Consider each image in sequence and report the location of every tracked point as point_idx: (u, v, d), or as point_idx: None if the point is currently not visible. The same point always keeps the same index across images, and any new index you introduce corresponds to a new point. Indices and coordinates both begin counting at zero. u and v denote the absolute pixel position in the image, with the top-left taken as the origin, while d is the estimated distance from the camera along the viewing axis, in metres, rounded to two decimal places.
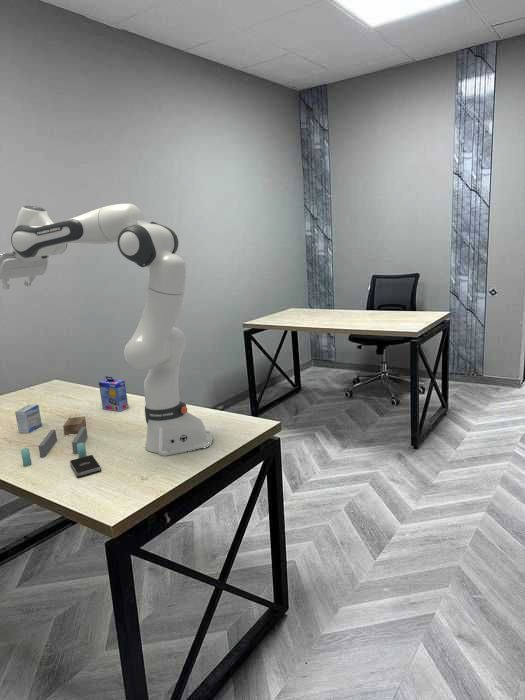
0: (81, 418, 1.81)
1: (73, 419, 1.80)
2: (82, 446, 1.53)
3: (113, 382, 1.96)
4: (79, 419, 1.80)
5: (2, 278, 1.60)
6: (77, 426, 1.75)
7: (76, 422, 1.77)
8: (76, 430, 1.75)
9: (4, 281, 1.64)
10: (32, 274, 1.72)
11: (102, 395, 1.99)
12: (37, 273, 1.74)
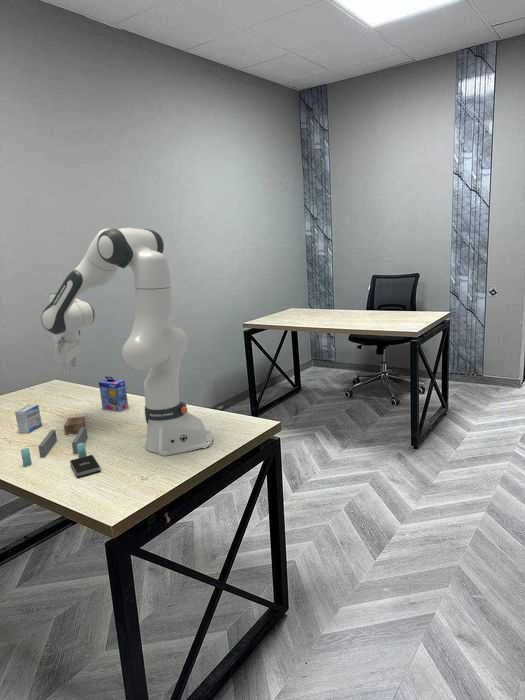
0: (81, 418, 1.81)
1: (73, 419, 1.80)
2: (82, 446, 1.53)
3: (113, 382, 1.96)
4: (79, 419, 1.80)
5: (67, 362, 1.74)
6: (78, 426, 1.75)
7: (76, 422, 1.77)
8: (77, 430, 1.76)
9: (65, 366, 1.77)
10: (76, 353, 1.86)
11: (102, 395, 1.99)
12: (77, 352, 1.88)
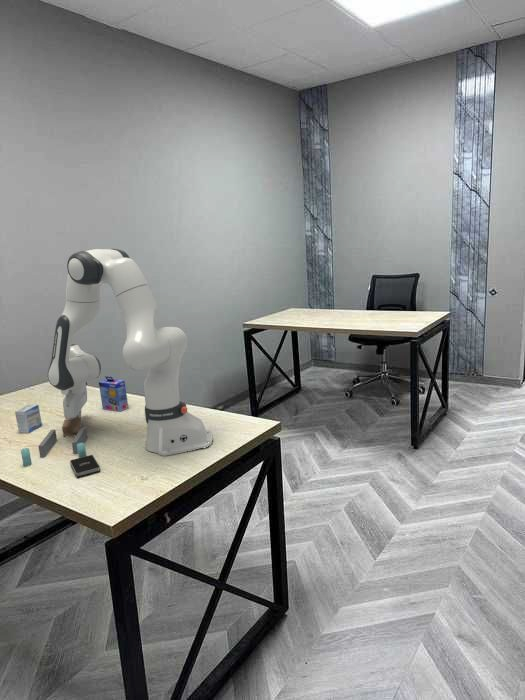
0: (78, 419, 1.79)
1: (71, 421, 1.78)
2: (82, 446, 1.53)
3: (113, 382, 1.96)
4: (76, 420, 1.78)
5: (75, 416, 1.74)
6: (77, 427, 1.74)
7: (75, 423, 1.76)
8: (75, 431, 1.74)
9: (77, 415, 1.81)
10: (83, 404, 1.86)
11: (102, 395, 1.99)
12: (84, 402, 1.88)
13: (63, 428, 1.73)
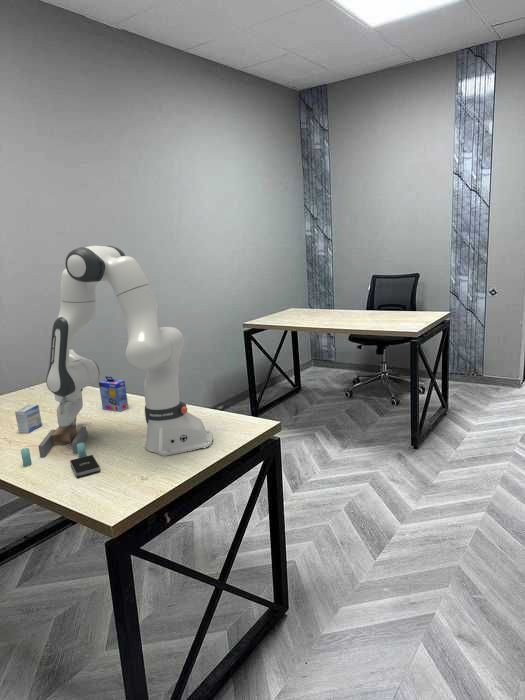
0: (72, 427, 1.72)
1: (64, 428, 1.71)
2: (82, 446, 1.53)
3: (113, 382, 1.96)
4: (69, 428, 1.71)
5: (69, 424, 1.66)
6: (66, 436, 1.66)
7: (65, 431, 1.68)
8: (65, 440, 1.66)
9: (71, 423, 1.73)
10: (78, 411, 1.79)
11: (102, 395, 1.99)
12: (80, 408, 1.80)
13: (52, 436, 1.66)
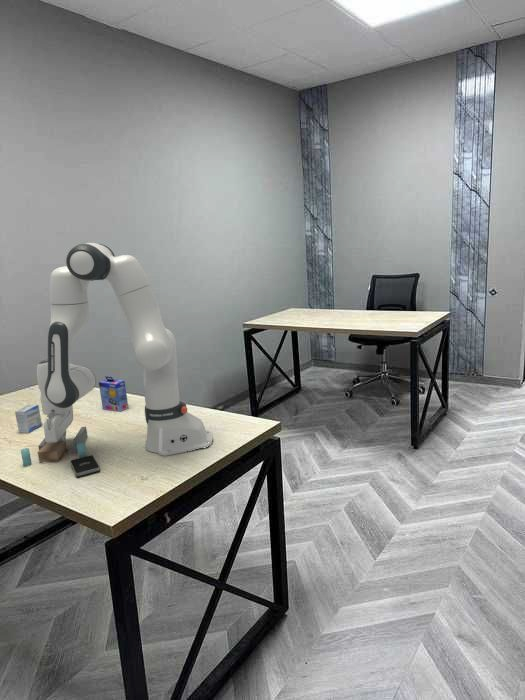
0: (61, 443, 1.58)
1: (52, 444, 1.58)
2: (82, 446, 1.53)
3: (113, 382, 1.96)
4: (57, 444, 1.57)
5: (58, 439, 1.53)
6: (53, 454, 1.53)
7: (53, 448, 1.54)
8: (52, 458, 1.53)
9: (60, 438, 1.60)
10: (68, 424, 1.65)
11: (102, 395, 1.99)
12: (70, 421, 1.67)
13: (39, 453, 1.53)
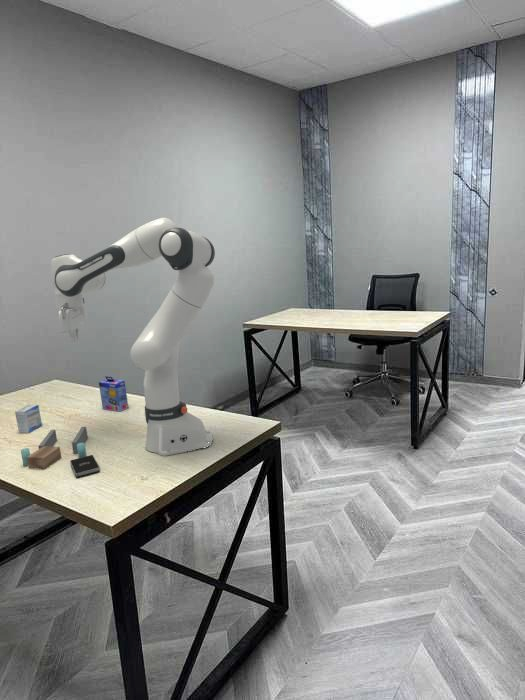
0: (53, 449, 1.54)
1: (45, 450, 1.54)
2: (82, 446, 1.53)
3: (113, 382, 1.96)
4: (49, 450, 1.53)
5: (71, 330, 1.61)
6: (40, 460, 1.48)
7: (42, 454, 1.50)
8: (39, 464, 1.49)
9: (73, 332, 1.67)
10: (80, 323, 1.73)
11: (102, 395, 1.99)
12: (82, 322, 1.75)
13: (27, 458, 1.49)
